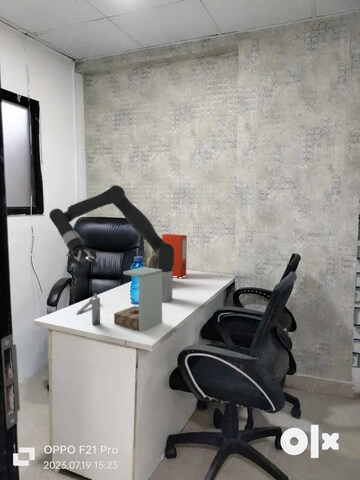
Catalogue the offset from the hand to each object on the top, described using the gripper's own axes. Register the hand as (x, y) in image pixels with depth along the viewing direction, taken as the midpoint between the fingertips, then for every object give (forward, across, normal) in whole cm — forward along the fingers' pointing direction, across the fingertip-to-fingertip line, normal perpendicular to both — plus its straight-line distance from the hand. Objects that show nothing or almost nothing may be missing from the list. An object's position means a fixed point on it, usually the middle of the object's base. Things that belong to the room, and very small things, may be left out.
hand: (89, 267), depth 162 cm
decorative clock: (+5, +74, +30) cm, 80 cm away
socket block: (+34, +8, +1) cm, 34 cm away
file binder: (+2, +101, +32) cm, 106 cm away
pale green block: (+37, +8, -2) cm, 37 cm away
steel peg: (+24, -4, +11) cm, 27 cm away
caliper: (+9, +9, +26) cm, 29 cm away
